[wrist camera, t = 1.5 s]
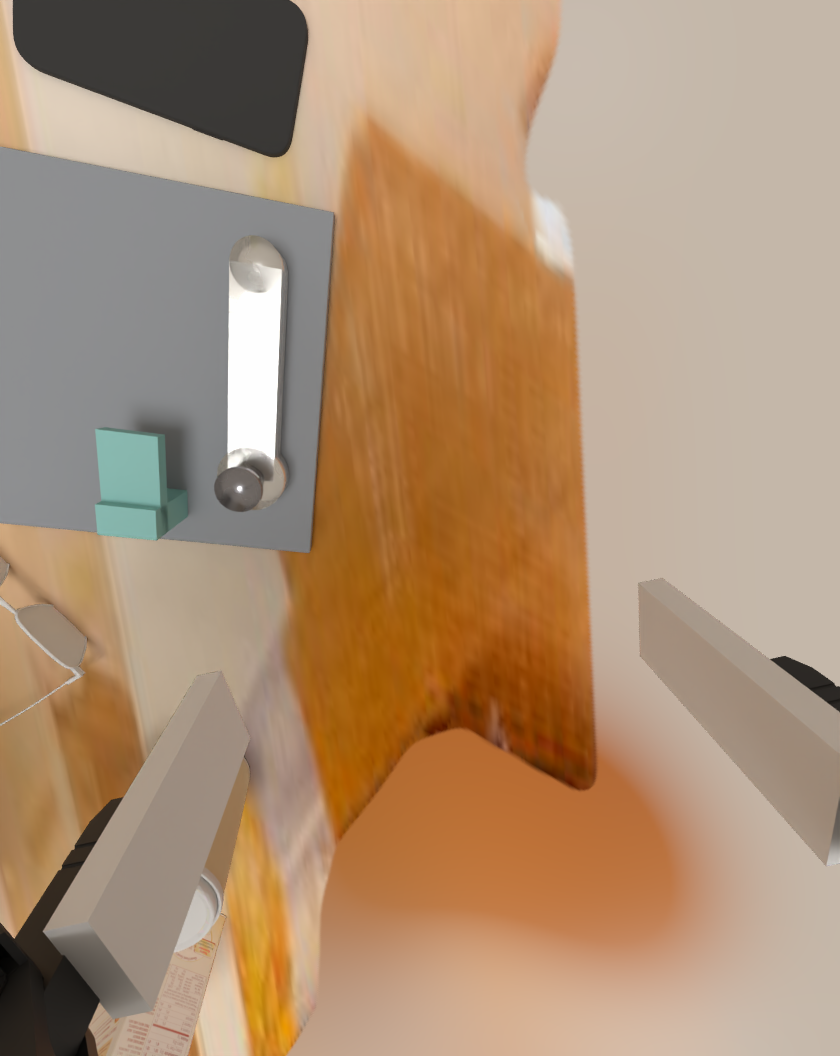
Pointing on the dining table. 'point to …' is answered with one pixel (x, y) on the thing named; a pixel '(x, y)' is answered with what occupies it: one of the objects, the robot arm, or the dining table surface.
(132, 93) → the phone
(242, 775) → the coffee cup
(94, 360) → the board
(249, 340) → the link
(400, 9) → the dining table surface
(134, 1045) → the coffeecake box
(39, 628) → the eyeglasses
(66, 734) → the dining table surface
